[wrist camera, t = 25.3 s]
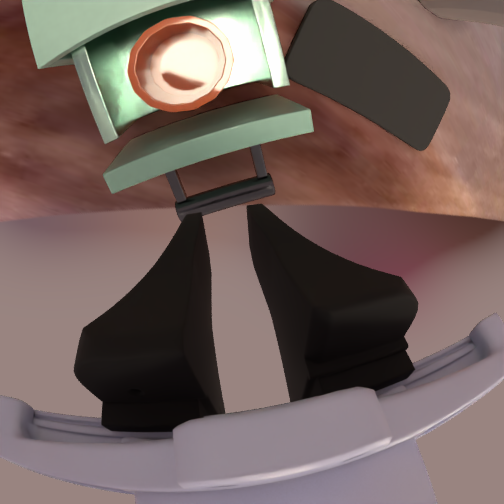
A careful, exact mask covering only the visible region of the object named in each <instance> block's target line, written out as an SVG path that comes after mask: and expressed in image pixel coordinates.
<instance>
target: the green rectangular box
mask: <svg viewBox="0 0 504 504" xmlns="http://www.w3.org/2000/svg"><path fill="white" fill-rule="evenodd" d="M187 1H190V0H22V4H23V10H24V15H25V20H26V25H27V29H28V34H29V38H30V42H31V46H32V49H33V53H34V57H35V60H36V63H37V67H38V69H42V68H48V67H55V66H64V65H74V61H73V58H72V55H71V52H72V51H73V50H75V49H77V48H78V47H80V46H82V45H83V44H85V43H87V42H89V41H91V40H93V39H94V38H96V37H98V36H100V35H102V34H104V33H106V32H108V31H110V30H112V29H115V28H117V27H119V26H121V25H123V24H126V23H128V22H130V21H133V20H135V19H137V18H140V17H142V16H145V15H148V14H150V13H153V12H156V11H158V10H161V9H164V8H167V7H170V6H173V5H177V4H180V3H183V2H187ZM272 1H274V0H269V2H270V3H271V2H272Z"/></svg>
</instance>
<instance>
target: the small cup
mask: <svg viewBox="0 0 504 504" xmlns="http://www.w3.org/2000/svg"><path fill="white" fill-rule="evenodd" d="M234 60H235V59H234V54H233V50H232V47H231V43H230V40H229V38H228V37H227V36H226V35H225V34H224V33H223V32H222V31H221V30H220V29H219V28H218V27H217V26H216V25H215V24H214V23H213V22H210V21H207V20H204V19H201V18H198V17H195V16H190V15H189V16H180V17H172V18H167V19H164V20H162V21H160V22H159V23H157V24H155V25H154V26H152V27H150V28H149V29H147V30H145V31H144V32H143V34H142V35H141V36H140V38H139V39H138V40H137V42H136V43H135V45H134V46H133V47H132V49H131V51H130V56H129V62H128V68H127V74H128V77H129V80H130V83H131V86H132V88H133V91H134V93H135V94H136V95H138V96H139V97H140V98H141V99H142V100H143V101H144V102H145V103H146V104H147V105H149V106H150V107H153V108H157V109H160V110H164V111H167V112H172V113H173V112H181V111H189V110H194V109H197V108H199V107H201V106H202V105H204V104H206V103H208V102H210V101H212V100H214V99H215V98H216V97H217V96H218V95H219V93H220V92H221V91H222V89H223V88H224V87H225V86H226V84H227V83H228V82H229V80H230V77H231V73H232V69H233V64H234Z"/></svg>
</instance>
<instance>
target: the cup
mask: <svg viewBox="0 0 504 504" xmlns="http://www.w3.org/2000/svg"><path fill="white" fill-rule="evenodd" d="M419 1H420V2H421V4H422V5H423V6H424V7H425V8H426V9H427V10H429V11H430V12H432V13H433V14H435V15H436V16H438V17H439V18H444V19H451V20H461V21H471V22H479V23H485V24H491V25H497V26H502V27H504V0H419Z"/></svg>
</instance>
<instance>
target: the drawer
mask: <svg viewBox="0 0 504 504" xmlns="http://www.w3.org/2000/svg"><path fill="white" fill-rule="evenodd" d="M189 15H190V16H195V17H198V18H201V19H204V20H207V21H210V22H213V23H214V24H215V25H216V26H217V27H218V28H219V29H220V30H221V31H222V32H223V33H224V34H225V35H226V36H227V37H228V38H229V40H230V43H231V47H232V50H233V54H234V59H235V60H234V64H233V69H232V73H231V77H230V80H229V82H228V83H227V84H226V86H225V87H224V88H223V89H227V88H231V87H235V86H239V85H243V84H247V83H252V82H257V83H260V84H263V85H266V86H269V87H272V88H278V87H283V86H288V85H290V83H289V78H288V74H287V69H286V65H285V60H284V56H283V52H282V48H281V44H280V40H279V36H278V32H277V28H276V24H275V20H274V16H273V13H272V9H271V6H270V2H269V0H190V1H187V2H183V3H180V4H177V5H173V6H170V7H167V8H164V9H161V10H158V11H156V12H153V13H150V14H148V15H145V16H142V17H140V18H137V19H135V20H133V21H130V22H128V23H126V24H123V25H121V26H119V27H117V28H115V29H112V30H110V31H108V32H106V33H104V34H102V35H100V36H98V37H96V38H94V39H93V40H91V41H89V42H87V43H85V44H83V45H82V46H80V47H78V48H77V49H75V50H73V51H72V52H71V55H72V58H73V61H74V64H75V67H76V70H77V73H78V76H79V79H80V82H81V85H82V88H83V90H84V93H85V96H86V99H87V101H88V104H89V107H90V109H91V112H92V114H93V117H94V119H95V122H96V124H97V127H98V129H99V132H100V134H101V136H102V139H103V141H104V143H105V144H107V143H109V142H111V141H113V140H115V139H118V138H119V137H120V136H121V135H122V134H123V133H124V132H125V131H126V130H127V129H128V128H129V127H130V126H131V125H132V124H133V123H134V122H136V121H137V120H138V119H139V118H141V117H143V116H146V115H148V114H151V113H153V112H156V111H159V110H160V109H157V108H153V107H150V106H149V105H147V104H146V103H145V102H144V101H143V100H142V99H141V98H140V97H139V96H138V95H136V94H135V93H134V91H133V88H132V86H131V83H130V80H129V77H128V74H127V68H128V62H129V56H130V51H131V49H132V47H133V46H134V45H135V43H136V42H137V40H138V39H139V38H140V36H141V35H142V34H143V32H144V31H145V30H147V29H149V28H150V27H152V26H154V25H155V24H157V23H159V22H160V21H162V20H164V19H167V18H172V17H180V16H189ZM223 89H222V90H223ZM313 131H314V129H313V123H312V116H311V111H310V109H308V108H306V107H304V106H302V105H300V104H298V103H295V102H293V101H291V100H289V99H286V98H284V97H282V96H279V95H271V96H267V97H262V98H258V99H253V100H249V101H245V102H241V103H237V104H233V105H230V106H226V107H222V108H219V109H215V110H212V111H209V112H205V113H202V114H199V115H196V116H193V117H190V118H187V119H184V120H181V121H178V122H175V123H172V124H169V125H167V126H164V127H161V128H159V129H156V130H153V131H151V132H148V133H146V134H143V135H141V136H139V137H136V138H134V139H131V140H130V141H129V142H128V143H127V144H126V146H125V147H124V148H123V149H122V150H121V152H120V153H119V154H118V155H117V157H116V158H115V159H114V160H113V162H112V163H111V164H110V165H109V167H108V168H107V169H106V171H105V172H104V173H103V177H104V179H105V181H106V183H107V185H108V187H109V189H110V191H111V193H112V194H114V193H116V192H118V191H121V190H123V189H126V188H128V187H131V186H133V185H136V184H138V183H141V182H143V181H146V180H148V179H151V178H154V177H156V176H159V175H162V174H166V177H167V179H168V182H169V184H170V186H171V189H172V191H173V194H174V196H175V198H176V202H175V208H176V212H177V215H178V217H179V219H180V220H181V222H182V220H183V219H184V217H185V216H186V214H193V213H199V212H202V216H204V215H207V214H210V213H213V212H216V211H220V210H223V209H226V208H230V207H233V206H237V205H240V204H243V203H247V202H250V201H254V200H257V199H261V198H264V197H268V196H272V195H274V194H275V187H274V183H273V180H272V177H271V175H270V174H269V173H267V171H266V167H265V162H264V158H263V154H262V149H261V145H260V144H262V143H266V142H270V141H274V140H278V139H282V138H287V137H291V136H296V135H300V134H305V133H310V132H313ZM247 147H249V148H250V152H251V156H252V160H253V164H254V168H255V172H256V175H257V176H255V177H251V178H248V179H244V180H241V181H237V182H234V183H231V184H227V185H224V186H221V187H217V188H214V189H211V190H208V191H204V192H201V193H198V194H195V195H192V196H189V197H187V195H186V193H185V190H184V187H183V185H182V182H181V180H180V177H179V175H178V172H177V170H176V169H179V168H182V167H185V166H187V165H190V164H194V163H197V162H200V161H203V160H206V159H209V158H212V157H216V156H219V155H222V154H226V153H229V152H233V151H236V150H240V149H243V148H247Z"/></svg>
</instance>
